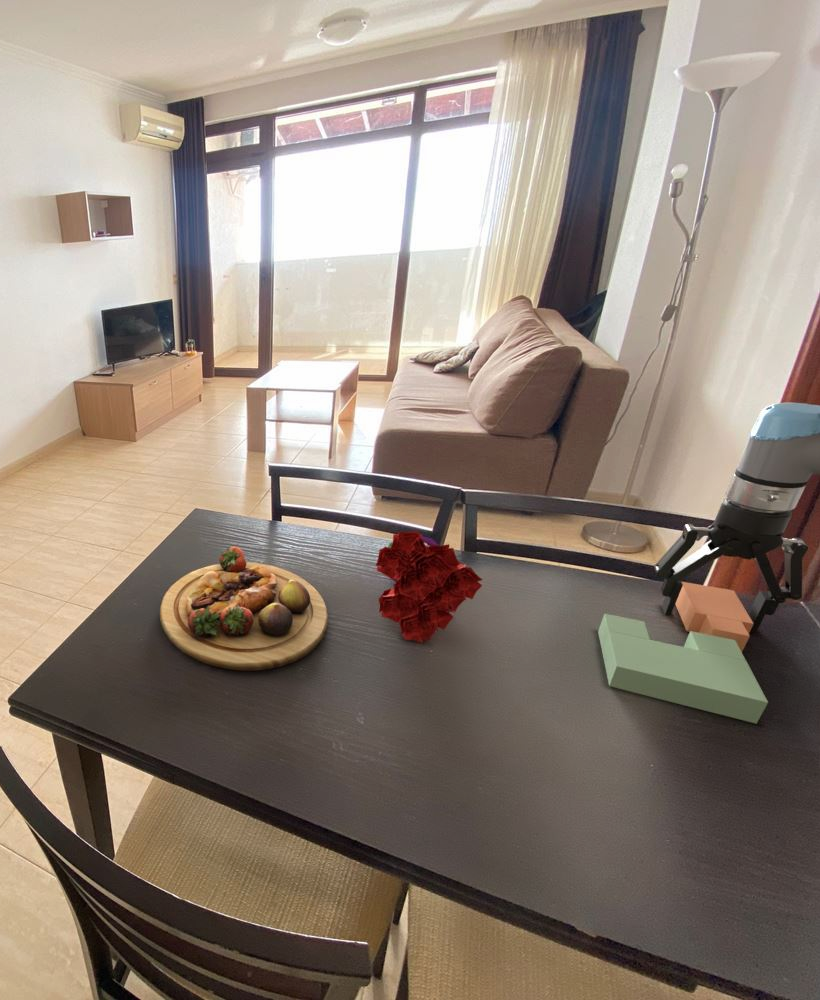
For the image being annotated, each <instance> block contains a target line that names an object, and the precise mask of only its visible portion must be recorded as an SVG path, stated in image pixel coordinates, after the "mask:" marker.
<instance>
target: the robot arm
mask: <svg viewBox="0 0 820 1000" xmlns="http://www.w3.org/2000/svg"><path fill="white" fill-rule="evenodd" d="M748 435H749V436H748V438H747V441H746V443H745V446H744V448H743V451H742V453H741V456H740V458H739V461H738V464H737V466H736V469H735V471H734V474H733V476H732V478H731V480H730V483H729V485H728V487H727V489H726V492H725V498H724V499H722V501H721V504H720V506H719V509H718V512H717V514H716V516H715V518H714V522H713V523H712V524H711V525H709V526H707V527H700V526H695V525H694V524H693V523H687V524H686V523H685V525H683V528H682V533H681V536H679V537H678V539H677V540H676V541H675V542H673V544H672V545H671V547H670V548H669V549H668V550H667V551H666V552H665V553H664V554H663V555H662V557H661V558H660V559H659V560H658V561H657V562H656V563H655V564H654V566H653V569H654V572H655V574H656V576H657V577H658V578H664V580H663V582H662V585H661V587H660V591H661V595H662V596H663V597H664V599H663V601H662V604H661V608H662V611H663V614H664V616H669V617H671V616H672V613H673V611H674V608H675V607H676V604H675V603H676V601H677V599H678V596H679V594H680V591H681V589H682V586H683V584H682V582H683V581H682V580H683V579H684V578H686V577H687V576H689V575H691V574H692V573H694V572H695V571H697V570H699V569H700V568H701V567H703V566H704V565H705V566H706V564H708V563H710V562H711V561H713V560H718V559H719V558H721V557H722V556H724V557H731V558H737V557H738V558H741V559H743V560H749V561H751V560H752V559H753V560H754V562H755V564H756V567H757V569H758V571H759V574H760V576H761V578H762V581H763V583H764V585H765V588H766V590H767V591H765V590H759V591H758V593H757V594H756V597H755V600H754V601H753V603H752V605H751V608H750V610H749V612H748V615H749V617H750V618H751V620H752V622H753V623H754V624H753V626H752V628H751V630H750V632H749V633H758V630H759V628H760V626H761V624H762V622H763V620H764V618H765V616H772V615H774V614H775V613H776V610H777V608H778V606H779V605H780V604H783V603H786V600H787V599H791V600H794V601H798V600H801V599H802V598H803V558H804V557H805V555H806V554H807V552H808V550H809V546H808V545H807V544H806V543H805V541H804V540H803V539H802V538H800V537H793V538H786V537H783V534H784V532H786V531H785V530H786V528H787V526H788V524H789V522H790V520H791V518H792V516H793V512H792V510H794V509H796V507H797V505H798V503H799V500H800V499H801V497H802V494H803V493H804V491H805V488H806V486H807V485H808V483H809V480H810V478H811V477H812V476H813V475H820V405H819V404H809V403H804V402H803V403H801V402H779V403H773V404H770V405H767V406H765V408H763V409H761V412H760V413H759V415H758V417H757V419H756V420H755V423H754V425H753V427H752V429H751V430H750V431H749V433H748ZM704 537H708V538H709V539H710V540H709V541H707V542H705V543H704V544H703V545H702V547H701V548H699V549H698V550H696V551H694V552H693V553H691V554H690V555H689V556H687V557H686V558H684V559H683V557H685V555H686V554H687V553H688V552H689V551H690V550H691V549H692V548H693V547H694V545H695V543H696V542H699V541H701V540H702V538H704ZM779 547H781V549H782V550H783V552H784V587H783V586H780V585H779V582H778V579H777V578H776V574H775V573H774V570H773V568H772V565H771V563H770V560H769V557H768V555H767V554H768V553H769V552H772V551H774V550H775V549H777V548H779ZM681 559H682V560H681Z"/></svg>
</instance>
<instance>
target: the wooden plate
mask: <svg viewBox="0 0 820 1000" xmlns="http://www.w3.org/2000/svg"><path fill="white" fill-rule="evenodd" d="M218 560H219V563H216V564H212V565H207V566H205V567H202V568H198V569H196V570H193V571H191V572H189V573H187V574H185V575H184V576H182V577H180V578H179V579H178V580H177V581H175V582H174V583H173V584H172V585H171V586H170V587H169V588H168V590H167V591H165V594H164V596H163V598H162V600H161V604H160V606H159V607H160V608H159V620H160V624H161V627H162V629H163V632H164V633H165V635H166V637H167V638H168V639H169V640H170V642H171V643H172V644H173V645H174V646H175V647H177V648H178V649H179V650H180V651H181V652H183V654H186V655H187V656H189V657H192V658H193V659H195V660H197V661H199V662H201V663H204V664H207V665H210V666H213V667H217V668H223V669H227V670H234V671H264V670H271V669H275V668H276V669H277V668H279V667H284V666H286V665H289V664H292V663H294V662H296V661H298V660H301V659H302V658H305V657H306V656H307V655H308V654H310V653H311V652H312V651H313V650H314V649H316V647H317V646H318V645H320V643H321V642H322V640H323V639H324V638H325V637H324V636H325V635H326V632H327V628H328V625H329V614H328V613H329V612H328V608H327V605H326V603H325V601H324V599H323V597H322V595H321V594H320V592H319V591H318V590H317V589H316V588H315V586H313V585H311V583H309V582H308V581H307V580H305V579H304V578H302V577H301V576H299V575H297V574H295V573H293V572H291V571H289V570H286V569H283V568H281V567H277V566H274V565H270V564H265V563H260V562H259V563H258V562H250V561H246V558H245V552H244V551H243V550H242V549H241V548H240V547H238V546H231V547H230V548H227V549H226V551H224V552H223V551H221V554H220V555H219V559H218Z"/></svg>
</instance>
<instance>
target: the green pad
mask: <svg viewBox="0 0 820 1000" xmlns="http://www.w3.org/2000/svg"><path fill="white" fill-rule="evenodd" d="M598 628H599V629H598V631H597V634H598V638H599V642H600V647H601V653H602V658H603V662H604V667H605V673H606V678H607V682H608V686H609V687H611V688H615V689H619V690H623V691H626V692H631V693H635V694H639V695H643V696H646V697H650V698H655V699H658V700H662V701H665V702H670V703H672V704H677V705H681V706H685V707H689V708H693V709H698V710H701V711H705V712H709V713H713V714H716V715H721V716H725V717H729V718H733V719H735V720H736V719H737V720H741V721H744V722H747V723H752V724H755V725H757V724H758V722H759V720H760V718H761V716H763V713H764V711H765V710H766V708H767V706H768V704H769V701H768V699H767V697H766V695H765V694H764V691H763V690H762V688H761V685H760V684H759V682H758V681H757V678H756V676H755V675H754V673H753V671H752V669H751V667H750V665H749V663H748V662H747V660H746V658H745V656H744V654H743V651H742V652H741V650H740V648H739V646H738V644H737V643H736V641H735V640H732V639H727V638H722V637H717V636H712V635H707V634H702V633H697V632H692V631H690V632H689V633H688V636H687V638H686V640H685V642H684V645H683V646H682V645H681V646H680V645H676V644H671V643H667V642H663V641H657V640H653V639H651V638H650V634H649V632H648V629H647V626H646V623H645V621H643V620H638V619H634V618H629V617H624V616H618V615H613V614H608V613H604V614H603V617H602V620H601V623H600V625H599V627H598Z"/></svg>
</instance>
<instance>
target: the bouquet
mask: <svg viewBox="0 0 820 1000" xmlns="http://www.w3.org/2000/svg"><path fill="white" fill-rule="evenodd" d="M375 566H376V571H377V572H379V573H380V574H382V575H384V576H386V577H388V578H389V579H390V580H392V581H394V582H395V583H394V584H393V588H388V589H385V590H383V592H382V593H381V595H380V596H379V598H378V604H379V609H378V610H379V614H380V613H381V618H384V619H388V620H391V621H393V622H395V623H398V625H399V629H400V634H401V636H403V639H404V640H410V641H415V642H419V643H424V640H426V641H427V642H429V641H430V639H431V637H432V636H433V635H434V634H435V633H436V632H438V631H439V628H440V629H442V630H445V629H446V628H447V626H448V625H449V623H450V622H451V621H452V620H453V619H454V615H453V614H452V613H456V611H457V609H458V608H459V607H460V606H461V605H462V603H464V602H465V601H467V599H469V600H473V599H474V597H475V595H476V593H477V592H478V591H479V590H480V589H481V588H482V587H483V584H481V583H480V582H481V581H483V579H482V578H481V577H480V576H479V575H478V574H477V573H476V572H475V571H474V569H473V567H471V566H470V567H469V566H468V567H466V566H467V564H466V563H461V562H460V561H459V560H458V558H457V556H456V552H455V549H454V547H450V544H449V543H448V544H442V545H439V543H437V542H436V541H435V540H434V538H431V537H427V536H423V535H422V534H421V533H419V532H418V530H413V531H397V533H393V536H392V542H389V544H388V546H384V547H382V548H380V549H379V550H378V556H377V561H376V563H375Z"/></svg>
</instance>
